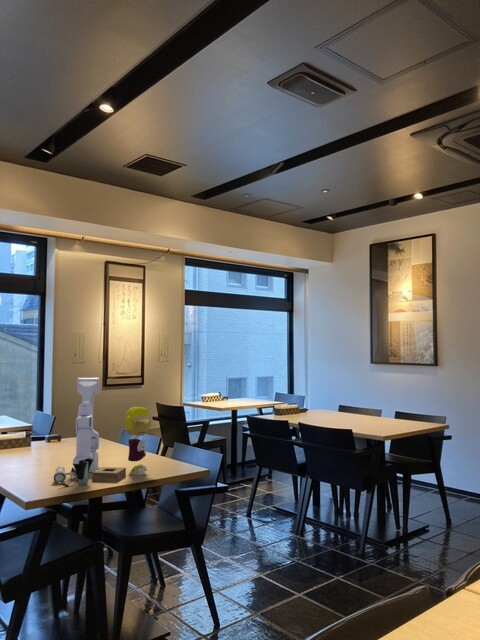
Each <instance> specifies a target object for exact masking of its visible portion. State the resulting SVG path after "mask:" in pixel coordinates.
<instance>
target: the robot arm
mask: <svg viewBox="0 0 480 640" xmlns="http://www.w3.org/2000/svg"><path fill="white" fill-rule="evenodd" d="M100 384H101V381H100V377H77V378H76V390H77V393H78V394H79V395H80V396H81V403H79V405H78V410H77V417H76V418H75V435H76V442H75V443H76V448H75V449H76V450H75V451H76V452H75V457H74V458H73V459H72V466H73V468H75V470H76V473H77V478H78V481H79V480H83V478H84V472H85V468H86V465H87V463H84V462H83V461H88V474H89V473H92V472H94V471H96V470H98V469H100V468H101V467H100V466H99V452H98V450H99V448H100V433H99V432H98V431H96V430H95V429H94V405H95V403H94V402H95V401H94V398H95V396H96V395H99V394H100V387H101V386H100Z"/></svg>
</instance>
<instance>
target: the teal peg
mask: <svg viewBox="0 0 480 640" xmlns="http://www.w3.org/2000/svg"><path fill="white" fill-rule="evenodd" d="M83 462H84V463H87V465H86V468H85V472H84V478H83V480H78V485H79V486H86V485H88V481H89V479H88V478H89V477H88V476H89V473H88V461H83Z"/></svg>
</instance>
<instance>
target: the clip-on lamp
mask: <svg viewBox="0 0 480 640" xmlns="http://www.w3.org/2000/svg"><path fill="white" fill-rule="evenodd" d="M65 470H66V469H65V467H64V466H63V465H58V466H57V467H56V469H55V472H54V474H53V478H52V479H53V482H55V483H57V484H59V485H61V486H63V487H65V488H69V487H72V486H73V485H74V484H75V483H76V482H79V480H78V478H77V473H76V470H75V468H74V466H73V467H71V470H70V471H69V472H65ZM67 476H70V477H69V478H68V479H67ZM74 478H75V481H74V482H73V483H72V484H71V485H69V484H68V483H64V482H65V481H66V482H68V481H70V480H71V479H74ZM66 479H67V480H66ZM59 482H60V483H59Z"/></svg>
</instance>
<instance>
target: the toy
mask: <svg viewBox="0 0 480 640" xmlns="http://www.w3.org/2000/svg"><path fill="white" fill-rule="evenodd" d="M148 413H149V412H148V408H146V407H141V406H132V407H130V408H129V409H128V410H127V412H126V414H125V416H124V418H125V430H126V432H127V434H128V435H130V436H132V437H131V438H130V439H128V457H127V460H128V461H129V462H139V461H141V460H142V459H144V458H145V457H146V455H147V451H146V448H145V447H147V446H148V445H149V444H148V443H146V442H148V441H149V438H144V437H143V438H142V439H139V438H138V437H141V436H145V435H146V434H147V433H148V432H149V430H150V428H151V423H152V422H151V420H150V419H140V420H137V421H136V422H135V419H136V418H137V417H139V416H142V417H147V418H148V417H149V415H148ZM146 470H147V471H148V468H147V466H146V465H145V464H142V463H140V464H137V465H133V467H132V469H131V470H130V471H129V474H130V475H133V476H135V475H136V476H142V475H143V474H144V475H146V472H147V471H146Z"/></svg>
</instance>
